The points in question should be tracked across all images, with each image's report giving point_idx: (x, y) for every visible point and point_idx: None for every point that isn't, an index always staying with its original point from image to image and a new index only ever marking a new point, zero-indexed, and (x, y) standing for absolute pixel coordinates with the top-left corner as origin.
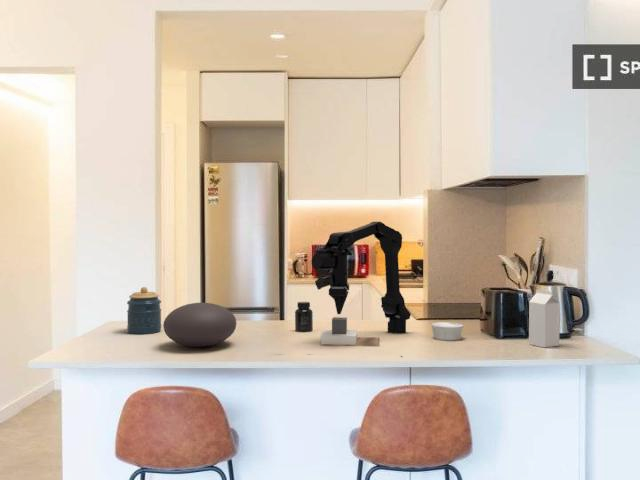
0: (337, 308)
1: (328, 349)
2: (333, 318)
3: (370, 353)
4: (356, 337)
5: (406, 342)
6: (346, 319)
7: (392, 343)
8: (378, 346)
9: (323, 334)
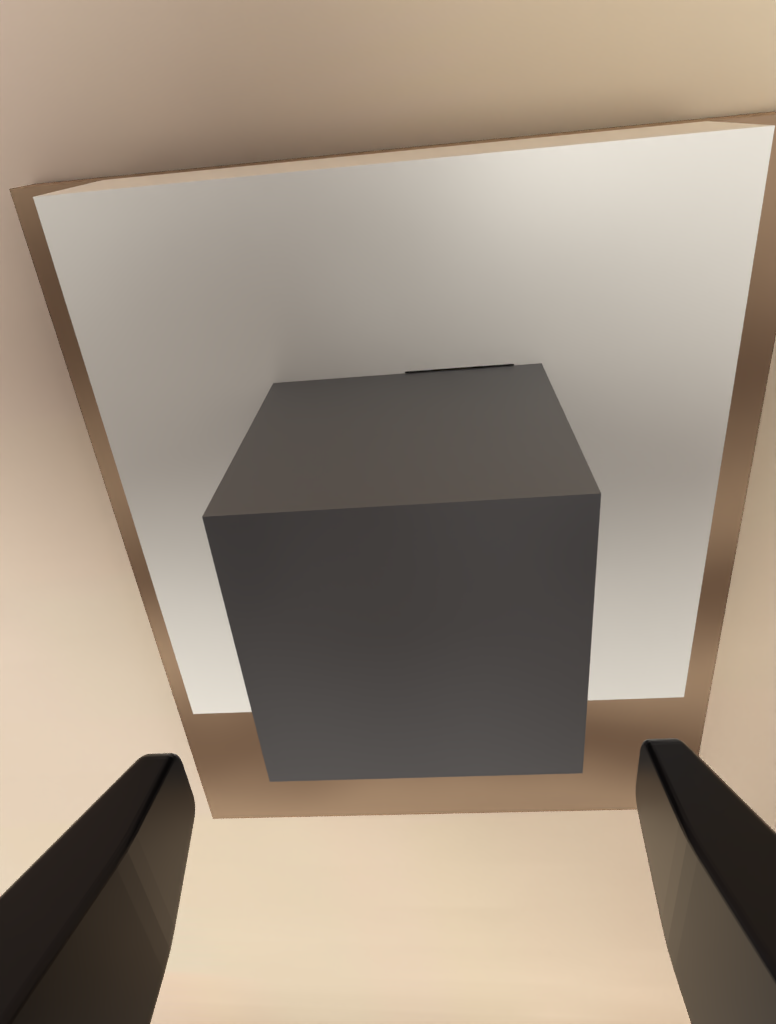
0: (12, 927)
1: (20, 318)
2: (392, 531)
3: (21, 739)
4: None
5: (576, 942)
6: (351, 773)
7: (522, 867)
8: (211, 811)
9: (162, 230)
